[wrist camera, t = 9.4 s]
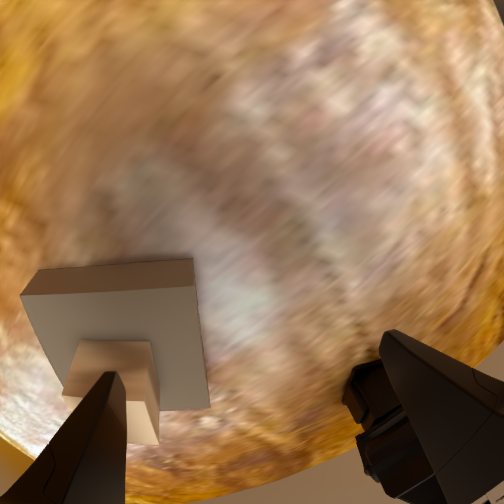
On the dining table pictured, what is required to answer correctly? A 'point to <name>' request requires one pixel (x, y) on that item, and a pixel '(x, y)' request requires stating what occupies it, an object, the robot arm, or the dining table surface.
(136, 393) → the cream cube
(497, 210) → the dining table surface
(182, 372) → the gray block
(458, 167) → the dining table surface
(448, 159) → the dining table surface
